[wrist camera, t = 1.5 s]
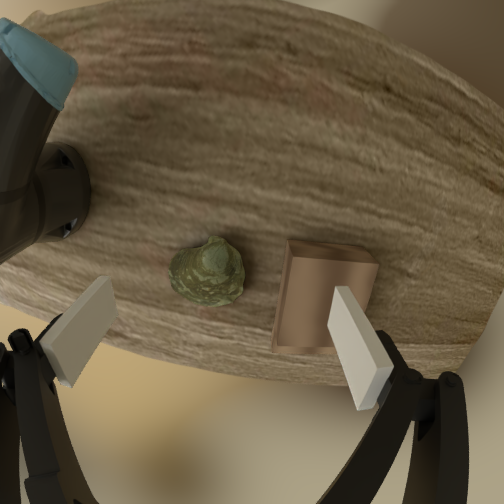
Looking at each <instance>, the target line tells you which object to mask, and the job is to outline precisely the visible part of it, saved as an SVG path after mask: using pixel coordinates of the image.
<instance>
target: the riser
mask: <svg viewBox="0 0 504 504" xmlns="http://www.w3.org/2000/svg"><path fill="white" fill-rule="evenodd" d="M378 268H379V263H378V262H377V261H376V260H375V259H374V258H373V257H372V256H371V255H370V254H369V253H368V252H367V251H366V250H365V249H364V248H363V247H359V246H350V245H340V244H330V243H320V242H310V241H300V240H289V239H287V242H286V249H285V256H284V263H283V269H282V276H281V282H280V289H279V295H278V301H277V307H276V313H275V319H274V325H273V331H272V337H271V348H272V353H291V354H338V353H337V351H336V348H335V345H334V342H333V340H332V337H331V334H330V331H329V329H328V326H327V324H328V320H329V315H330V311H331V306H332V301H333V296H334V291H335V286H348V287H349V289H350V290H351V292H352V294H353V295H354V297H355V299H356V300H357V302H358V304H359V305H360V307H361V309H362V310H363V312H364V314H365V311H366V308H367V305H368V302H369V299H370V295H371V292H372V289H373V286H374V282H375V279H376V275H377V272H378Z"/></svg>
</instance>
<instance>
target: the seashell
mask: <svg viewBox="0 0 504 504" xmlns="http://www.w3.org/2000/svg"><path fill="white" fill-rule="evenodd" d="M168 274H169V279H170V282H171V286H172V288H173V289H174V290H175V291H176V292H177V293H178V294H180V295H181V296H182V297H184V298H186V299H187V300H189V301H191V302H193V303H194V304H197V305H202V306H212V307H217V306H221V305H227V304H229V303H233V302H234V300H236V298H237V297H238V296H239V295H241V294H242V292H243V282H244V279H245V270H244V267H243V262H242V258H241V255H240V253H239V252H238V250H236V249H235V248H234V247H232V246H231V245H229V244H228V243H227V241H226V240H225V239H222V238H220V237H218V236H211V237H209V240H208V243H207V244H205V245H203V246H202V247H198V248H191V249H185V248H184V249H182V250H181V251H179V252H178V253H176V254H175V255H174V256H173V258H172V259H171V262H170V265H169V271H168Z"/></svg>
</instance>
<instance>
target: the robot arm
mask: <svg viewBox="0 0 504 504" xmlns="http://www.w3.org/2000/svg"><path fill="white" fill-rule="evenodd" d="M77 75H78V64H77V62H76V60H75V59H74V58H73V57H72V56H70V55H69V54H67V53H66V52H64V51H63V50H61V49H60V48H58V47H57V46H55V45H53V44H52V43H50V42H48V41H47V40H45V39H44V38H42V37H40V36H39V35H37V34H35V33H33V32H32V31H30V30H28V29H26V28H24V27H22V26H20V25H19V24H17V23H15V22H13V21H11V20H9V19H7V18H1V19H0V265H1V264H3V263H4V262H5V261H7V260H8V259H10V258H11V257H13V256H15V255H16V254H18V253H19V252H21V251H22V250H24V249H25V248H27V247H29V246H30V245H32V244H34V243H44V242H56V241H60V240H63V239H65V238H67V237H68V236H70V235H71V234H73V233H74V232H76V231H77V230H78V229H79V228H80V226H81V225H82V224H83V222H84V220H85V218H86V216H87V213H88V209H89V205H90V195H91V190H90V181H89V176H88V172H87V169H86V166H85V164H84V162H83V160H82V159H81V157H80V156H79V154H78V153H77V152H76V151H75V150H74V149H73V148H72V147H70V146H69V145H67V144H64V143H60V142H53V143H46V140H47V138H48V136H49V133H50V131H51V129H52V127H53V125H54V122H55V120H56V118H57V116H58V114H59V112H60V111H62V110H63V108H64V102H65V100H66V98H67V96H68V94H69V92H70V90H71V88H72V86H73V84H74V82H75V80H76V78H77ZM117 316H118V311H117V306H116V302H115V297H114V293H113V288H112V283H111V277H110V276H101V275H100V276H99V277H98V278H97V279H96V280H95V281H94V282H93V283H92V284H91V285H90V286H89V287H88V288H87V289H86V290H85V291H84V292H83V293H82V294H81V295H80V296H79V297H78V298H77V299H76V301H75V302H74V303H73V304H72V305H71V306H70V307H69V308H68V309H67V310H66V311H65V312H64V314H63V313H61V314H60V315H58V316H57V317H55V318H54V319H53V320H52V321H51V322H50V324H49V325H48V326H47V327H46V329H44V330H43V331H42V332H41V334H40V335H39V336H38V337H37V338H36V339H35V341H34V342H33V340H32V337H31V335H30V333H29V331H28V330H27V329H23V328H22V329H17V330H15V331H14V332H12V333H11V334H10V335H9V337H8V342H9V343H10V346H11V348H12V350H13V351H7V349H6V347H5V345H4V344H3V343H2V342H0V504H21V496H20V495H21V494H20V478H19V445H20V436H21V442H22V447H23V452H24V456H25V461H26V465H27V469H28V473H29V478H27V479H25V481H24V484H25V489H26V492H27V496H28V499H29V502H30V504H99V503H98V502H97V501H96V499H95V498H94V496H93V495H92V493H91V491H90V488H89V486H88V484H87V482H86V480H85V477H84V475H83V473H82V470H81V468H80V465H79V463H78V460H77V458H76V455H75V452H74V450H73V447H72V444H71V441H70V438H69V435H68V432H67V429H66V425H65V422H64V418H63V415H62V411H61V407H60V403H59V399H58V395H57V390H56V386H55V384H54V382H53V380H54V378H55V377H57V379H58V381H59V382H60V384H62V385H64V386H67V387H70V388H72V387H73V385H74V384H75V382H76V380H77V379H78V377H79V375H80V374H81V372H82V370H83V369H84V367H85V365H86V364H87V362H88V361H89V359H90V357H91V356H92V354H93V352H94V351H95V349H96V348H97V346H98V345H99V343H100V342H101V340H102V339H103V337H104V336H105V334H106V333H107V331H108V329H109V328H110V326H111V325H112V324H113V322H114V321H115V319H116V318H117ZM327 326H328V329H329V331H330V334H331V337H332V340H333V342H334V345H335V348H336V351H337V353H338V356H339V359H340V362H341V364H342V367H343V370H344V373H345V376H346V379H347V382H348V385H349V388H350V390H351V393H352V396H353V399H354V402H355V405H356V408H357V411H359V410H366V409H371V408H373V407H374V405H375V403H376V401H377V402H378V404H379V409H378V411H377V412H376V414H375V416H374V417H373V419H372V422H371V424H370V425H369V427H368V429H367V431H366V432H365V434H364V436H363V437H362V439H361V441H360V442H359V444H358V446H357V447H356V449H355V450H354V452H353V454H352V455H351V457H350V458H349V460H348V461H347V463H346V464H345V466H344V467H343V468H342V470H341V471H340V473H339V474H338V476H337V477H336V478H335V480H334V481H333V482H332V484H331V485H330V486H329V488H328V489H327V490H326V492H325V493H324V494H323V495H322V497H321V498H320V499H319V501H318V502H317V503H316V504H370V503H371V501H372V500H373V498H374V497H375V495H376V493H377V492H378V490H379V488H380V486H381V485H382V483H383V481H384V479H385V477H386V475H387V473H388V472H389V470H390V468H391V466H392V464H393V462H394V460H395V457H396V455H397V453H398V451H399V449H400V447H401V444H402V442H403V440H404V437H405V435H406V433H407V430H408V428H409V425H410V422H411V421H415V425H414V436H413V445H412V453H411V460H410V467H409V473H408V478H407V483H406V488H405V493H404V498H403V503H402V504H467V494H468V479H469V438H468V422H467V411H466V402H465V394H464V387H463V382H462V379H461V378H460V377H459V375H457V374H456V373H453V372H450V371H446V372H443V373H442V374H441V375H440V376H439V378H438V379H426V378H423V376H422V374H421V373H420V372H418V371H417V370H415V369H411V368H408V366H407V364H406V362H405V361H404V359H403V357H402V356H401V354H400V352H399V351H398V350H397V347H396V346H395V344H394V342H393V341H392V339H391V337H390V336H389V335H388V334H387V333H385V332H384V331H383V330H378V331H374V329H373V327H372V326H371V324H370V322H369V320H368V319H367V317H366V315H365V314H364V312H363V310H362V309H361V307H360V305H359V304H358V302H357V300H356V299H355V297H354V295H353V294H352V292H351V290H350V289H349V287H348V286H335V291H334V296H333V301H332V306H331V311H330V315H329V320H328V324H327ZM2 382H3V384H4V385H3V387H2Z"/></svg>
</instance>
